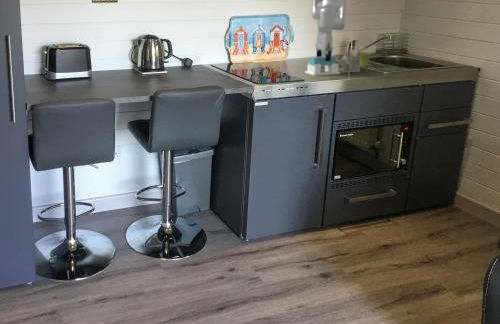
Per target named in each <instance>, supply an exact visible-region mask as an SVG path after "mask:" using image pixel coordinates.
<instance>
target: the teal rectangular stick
mask: <svg viewBox="0 0 500 324" xmlns="http://www.w3.org/2000/svg"><path fill="white" fill-rule="evenodd" d="M325 60H326V56H323V57H316V56H311V57H310V62H309V63H310V65H313V66H314V65H316V64H321V65H332V64H334V63H337V56H334V55H332V56H331V61H325Z"/></svg>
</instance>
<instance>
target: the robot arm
mask: <svg viewBox="0 0 500 324" xmlns="http://www.w3.org/2000/svg"><path fill="white" fill-rule="evenodd" d="M319 3H320V5H319ZM311 5H312V7H311V17H312V19H314V20H316V21H317V36H316V43H315V49H316V56H315V57H323V56H326V60H325V61H331V56H333V55H332V53H333V51H334V46H333V41H334V38H333V34H332V33H333V32H332V31H343V30H345V28H346V21H347V19H346V18H347V0H313V1H312V4H311ZM318 5H319V6H318ZM321 67H325V65H321Z"/></svg>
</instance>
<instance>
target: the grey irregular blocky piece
mask: <svg viewBox="0 0 500 324" xmlns="http://www.w3.org/2000/svg"><path fill="white" fill-rule="evenodd" d="M359 48H360V47H359V46H356V48H355V49H353V48H351V49H349V52H345V53H344V54H343V56H342V57H341V58H340V61H339V62H338V72H340V73H341V74H342V73H344V74H345V73H346V74H347V73H350V72H354V73H361V67H360V62H359V61H360V57H361V56H360V54H359V52H360V51H359Z"/></svg>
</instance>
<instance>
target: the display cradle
mask: <svg viewBox="0 0 500 324" xmlns="http://www.w3.org/2000/svg"><path fill="white" fill-rule="evenodd" d="M338 67H339V62H336V63H334V64H332V65H325V66H321V64H316V65H314V66H313V65H310V62H307V70H305V71H304V73H305V74H307V75H311V76H328V75H340V74H341V72H339V71H338Z"/></svg>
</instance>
